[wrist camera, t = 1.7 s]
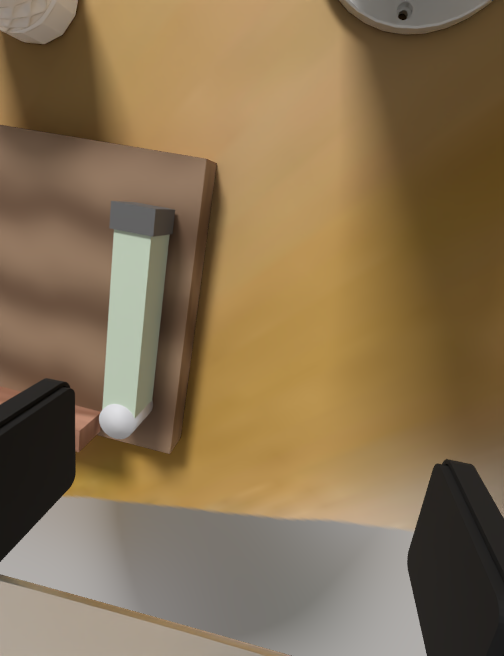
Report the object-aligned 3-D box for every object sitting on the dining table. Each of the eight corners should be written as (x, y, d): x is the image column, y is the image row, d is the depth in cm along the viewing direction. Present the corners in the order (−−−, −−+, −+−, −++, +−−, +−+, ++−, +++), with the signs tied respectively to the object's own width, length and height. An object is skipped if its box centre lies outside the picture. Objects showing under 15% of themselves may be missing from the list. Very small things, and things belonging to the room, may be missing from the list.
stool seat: (-15, 125, 30) (-86, 106, 25) (216, 163, 28) (191, 152, 23) (-9, 389, 37) (-64, 418, 32) (180, 437, 35) (154, 477, 30)
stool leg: (152, 421, 32) (133, 443, 28) (118, 412, 32) (96, 433, 29) (175, 209, 27) (155, 209, 24) (135, 202, 27) (111, 200, 24)
